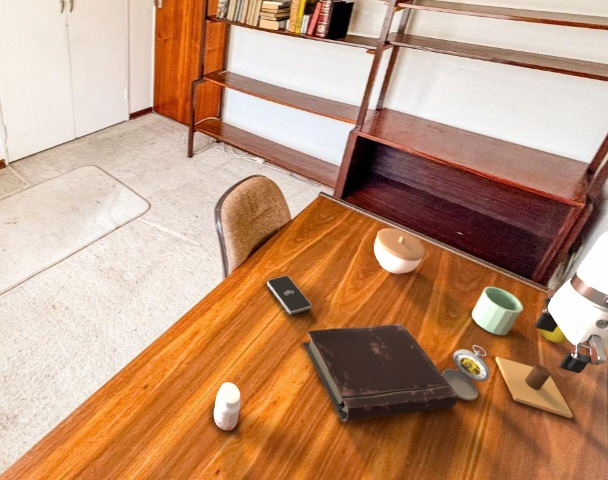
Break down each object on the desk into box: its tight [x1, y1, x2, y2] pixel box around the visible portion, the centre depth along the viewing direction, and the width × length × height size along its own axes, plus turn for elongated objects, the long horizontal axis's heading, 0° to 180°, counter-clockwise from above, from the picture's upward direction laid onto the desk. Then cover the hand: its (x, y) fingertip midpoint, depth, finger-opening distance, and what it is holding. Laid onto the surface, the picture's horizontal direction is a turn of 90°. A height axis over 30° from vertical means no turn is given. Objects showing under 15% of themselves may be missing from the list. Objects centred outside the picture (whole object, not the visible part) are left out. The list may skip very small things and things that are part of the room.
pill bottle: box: [213, 382, 242, 431], centre depth 79 cm, size 5×5×8 cm
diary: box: [302, 323, 459, 422], centre depth 89 cm, size 19×25×5 cm
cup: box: [471, 286, 524, 336], centre depth 102 cm, size 8×8×8 cm
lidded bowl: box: [373, 227, 426, 275], centre depth 119 cm, size 13×13×11 cm
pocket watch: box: [441, 344, 491, 401], centre depth 87 cm, size 8×8×10 cm
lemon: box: [538, 326, 569, 344], centre depth 98 cm, size 6×6×8 cm
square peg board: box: [495, 356, 574, 419], centre depth 88 cm, size 10×10×6 cm
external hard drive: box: [266, 275, 312, 317], centre depth 108 cm, size 7×11×2 cm, turn 19°
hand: (555, 348), depth 83 cm, fingers open, 9 cm apart
